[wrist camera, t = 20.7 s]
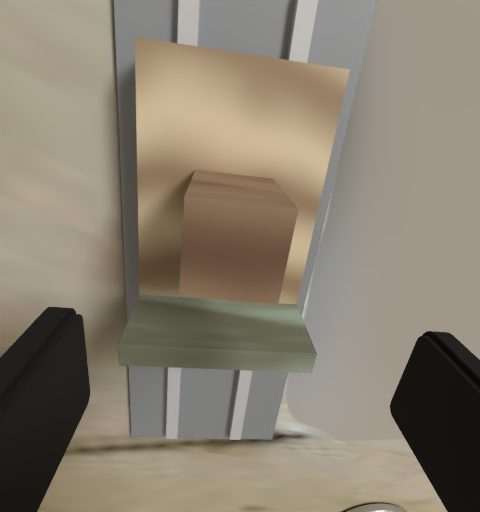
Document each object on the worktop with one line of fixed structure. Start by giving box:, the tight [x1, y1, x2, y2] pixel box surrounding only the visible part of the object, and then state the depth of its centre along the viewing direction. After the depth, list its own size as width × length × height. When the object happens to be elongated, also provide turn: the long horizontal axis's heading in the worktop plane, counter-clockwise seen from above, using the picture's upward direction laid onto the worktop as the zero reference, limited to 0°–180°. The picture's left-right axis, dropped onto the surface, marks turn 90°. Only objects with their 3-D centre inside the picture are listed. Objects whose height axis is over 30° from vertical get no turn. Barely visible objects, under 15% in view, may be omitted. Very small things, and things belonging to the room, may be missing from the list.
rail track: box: [114, 0, 377, 440], centre depth 27 cm, size 42×16×1 cm, turn 173°
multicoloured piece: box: [118, 37, 350, 373], centre depth 20 cm, size 18×12×9 cm
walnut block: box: [179, 169, 299, 304], centre depth 18 cm, size 5×5×7 cm
